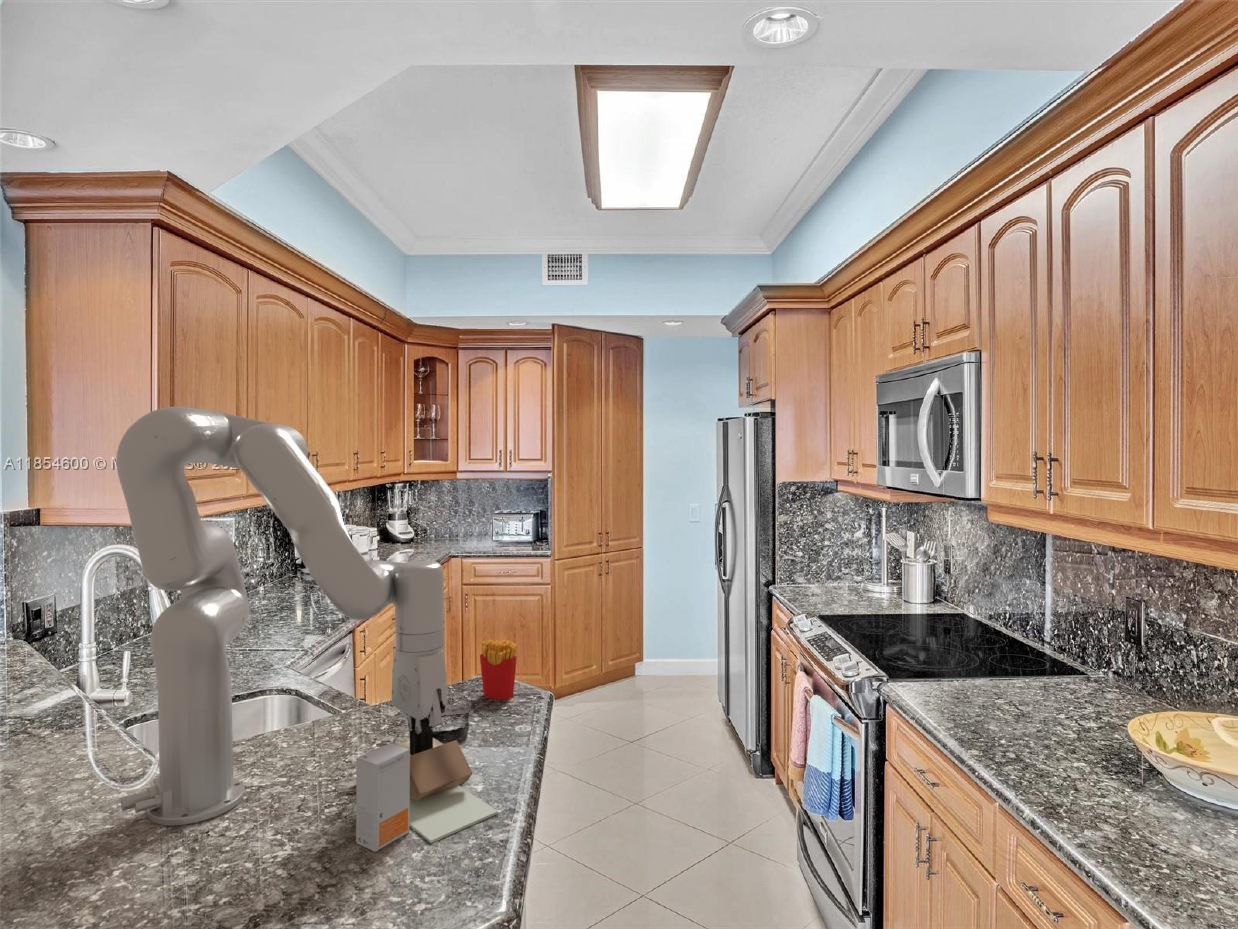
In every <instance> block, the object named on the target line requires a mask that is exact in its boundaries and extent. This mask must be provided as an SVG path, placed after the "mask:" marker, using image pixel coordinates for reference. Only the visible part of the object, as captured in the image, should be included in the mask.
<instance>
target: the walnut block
mask: <svg viewBox="0 0 1238 929" xmlns="http://www.w3.org/2000/svg"><path fill="white" fill-rule="evenodd" d="M457 740H458V739H453V740H452V741H449V742H446V743H443V745H440V746H437V747H434V748H431V749H429V750H426V751H423V752H420V753H417V754H414V755H411V756H410V792H411V794H412V796H413V799H414V801H415V802H417V801H419V800H422V799H424V798H427V797H429V796H432V795H434V794H437V793H439V792H442V791H444V790H447V789H449V788H452V787H454V786H457V785H459V786H460V785H462V784H464V783H466V782H468V781H469V779H470V778H471V776H472V775H473V771H472V769H471V767H470V765H469V763H468V761H467V759H466V756H465V755H464V753H463V752H464V751H463V750H462V749H461V747H460V744H459V743H458V741H457ZM464 756H465V757H464Z"/></svg>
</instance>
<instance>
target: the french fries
mask: <svg viewBox="0 0 1238 929" xmlns="http://www.w3.org/2000/svg"><path fill="white" fill-rule="evenodd" d="M517 649H518V644H517V643H515V642H513V641H511V640H509V639H507V640H506V639H504V638H503V639H501V640H498V639H496V640H495V639H488V640H487V641H486V640H483V641H482V642H481V650H482V653H481V654H479V659H480V671H481V681H482V691H483V692H482V693H483V694H482V695H483V697H485V698H487V699H491V698H494V699H493V700H497V699H498V700H499V701H506V700H510V699H511V698H513V697H514V693H515V692H514V690H515V679H516V669H517V668H516V667H517V655H516V654H517Z"/></svg>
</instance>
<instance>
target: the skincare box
mask: <svg viewBox="0 0 1238 929" xmlns="http://www.w3.org/2000/svg"><path fill="white" fill-rule="evenodd" d="M355 762H356V766H355V767H356V768H355V770H356V771H355V772H356V773H355V774H356V776H355V777H356V778H355V781H356V782H355V783H356V785H355V786H356V788H355V789H356V790H355V791H356V792H355V793H356V794H355V798H356V800H355V803H356V804H355V809H356V810H355V812H356V814H355V815H356V816H355V817H356V818H355V839H356V840H355V843H356V844H357V845H359V846H361V847H364V848H366V849H368V850H370V851H373V852H374V853H377V852H378V851H379V850H381V849H383V848H385V847H386V846H388V845H390V844H392V843H393V842H394V841H397V840H398V839H400V838H401V837H403V836H405V835H407V834H409V833H410V826H409V820H410V749H407V748H404V747H401V746H398V744H395V743H392V742H390V743H388V744H385V745H383V746H381V747H377V748H375V749H373V750H371V751H369V752H367V753H365V754H363V755H360V756H358V757H357V758H356V760H355Z"/></svg>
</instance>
